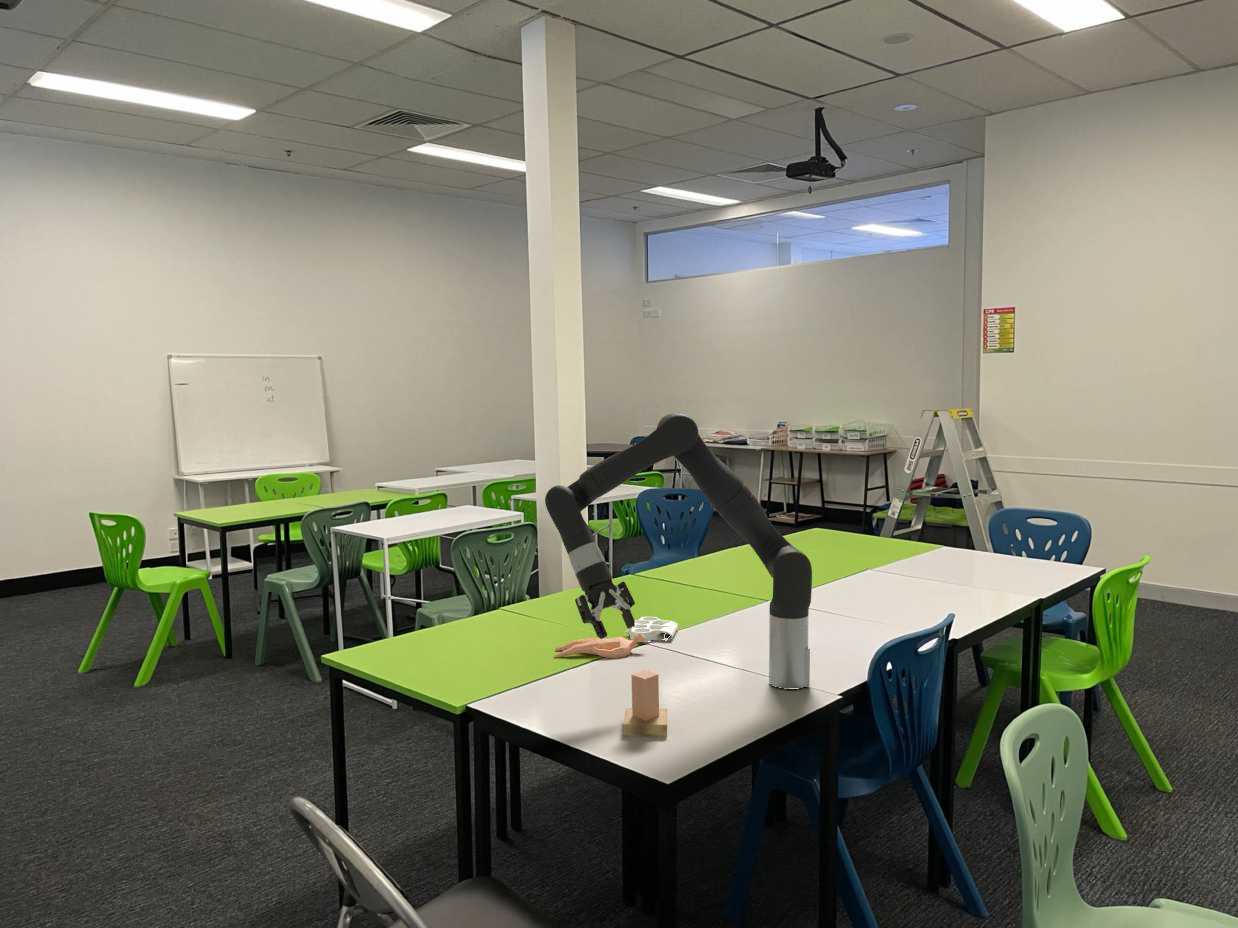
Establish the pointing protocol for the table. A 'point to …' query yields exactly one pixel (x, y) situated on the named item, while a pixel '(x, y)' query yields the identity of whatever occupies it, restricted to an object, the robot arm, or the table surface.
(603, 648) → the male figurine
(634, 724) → the base slab
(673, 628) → the white dimpled tray
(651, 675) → the block
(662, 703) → the table surface
